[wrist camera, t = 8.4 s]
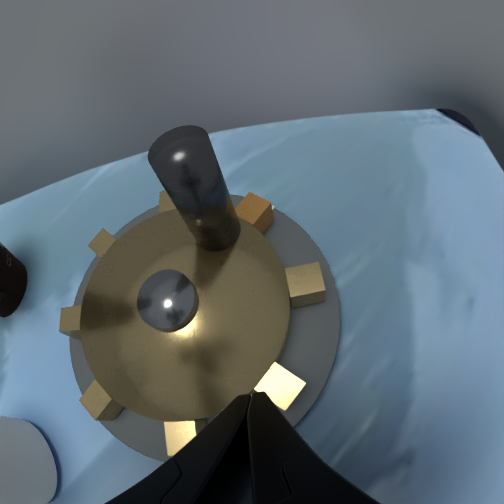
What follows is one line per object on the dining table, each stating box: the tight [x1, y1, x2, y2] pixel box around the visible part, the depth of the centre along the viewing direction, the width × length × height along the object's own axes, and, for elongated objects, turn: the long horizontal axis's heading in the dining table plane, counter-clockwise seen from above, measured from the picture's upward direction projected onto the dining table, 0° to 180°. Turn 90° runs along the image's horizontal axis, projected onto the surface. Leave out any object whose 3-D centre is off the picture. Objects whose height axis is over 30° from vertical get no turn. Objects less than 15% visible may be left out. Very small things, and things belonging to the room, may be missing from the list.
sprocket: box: [59, 125, 326, 456], centre depth 16 cm, size 18×18×10 cm
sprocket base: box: [70, 194, 340, 462], centre depth 21 cm, size 20×20×1 cm
